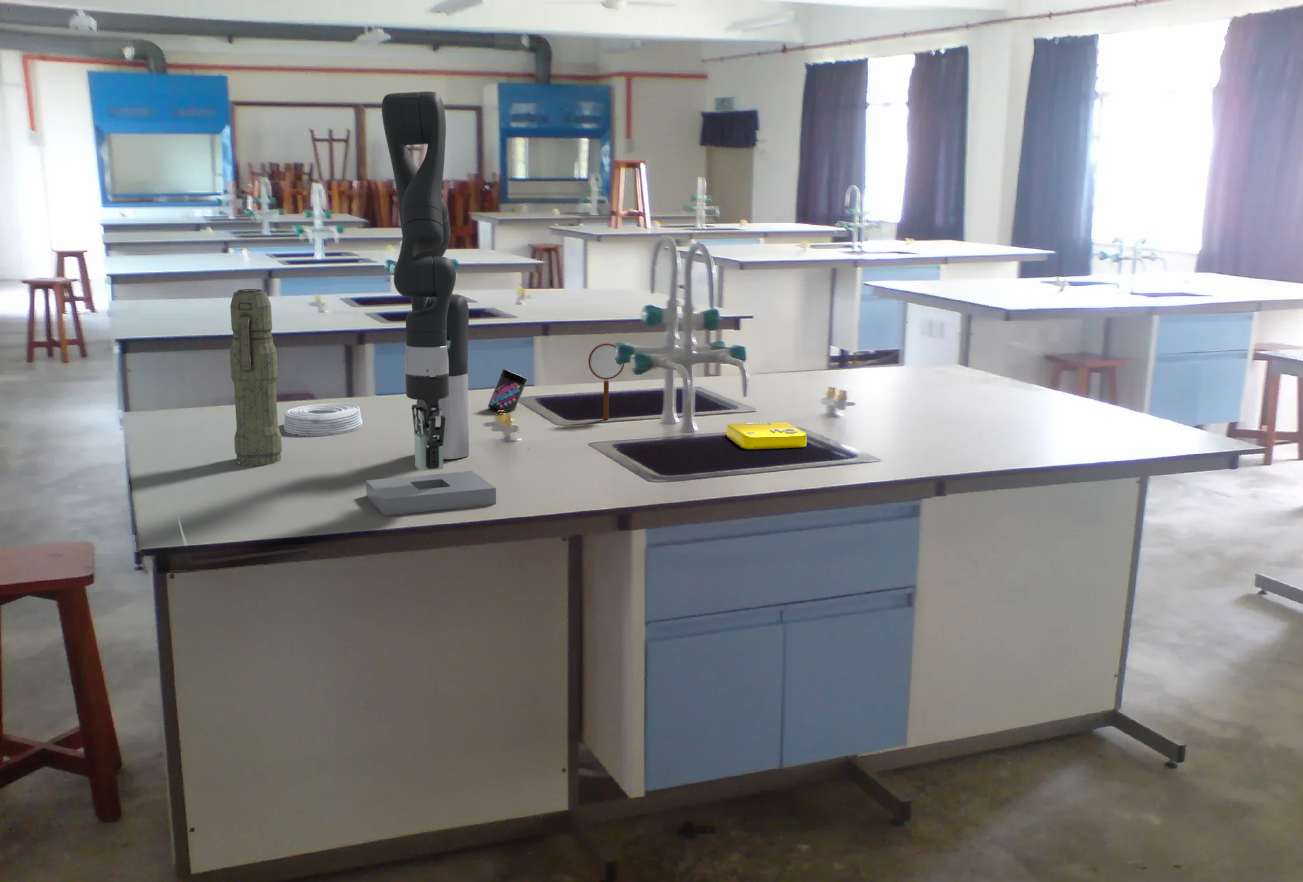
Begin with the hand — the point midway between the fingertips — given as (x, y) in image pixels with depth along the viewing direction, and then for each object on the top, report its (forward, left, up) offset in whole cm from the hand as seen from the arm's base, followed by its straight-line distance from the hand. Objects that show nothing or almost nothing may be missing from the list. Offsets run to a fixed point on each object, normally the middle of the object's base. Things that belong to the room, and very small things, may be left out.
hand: (429, 465), depth 210 cm
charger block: (0, 0, 0) cm, 0 cm away
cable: (-67, -6, -7) cm, 68 cm away
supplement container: (-71, +40, -7) cm, 82 cm away
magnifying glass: (-51, +57, -7) cm, 77 cm away
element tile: (-18, +82, -7) cm, 84 cm away
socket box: (0, 0, -7) cm, 7 cm away
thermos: (-41, -24, -7) cm, 48 cm away
